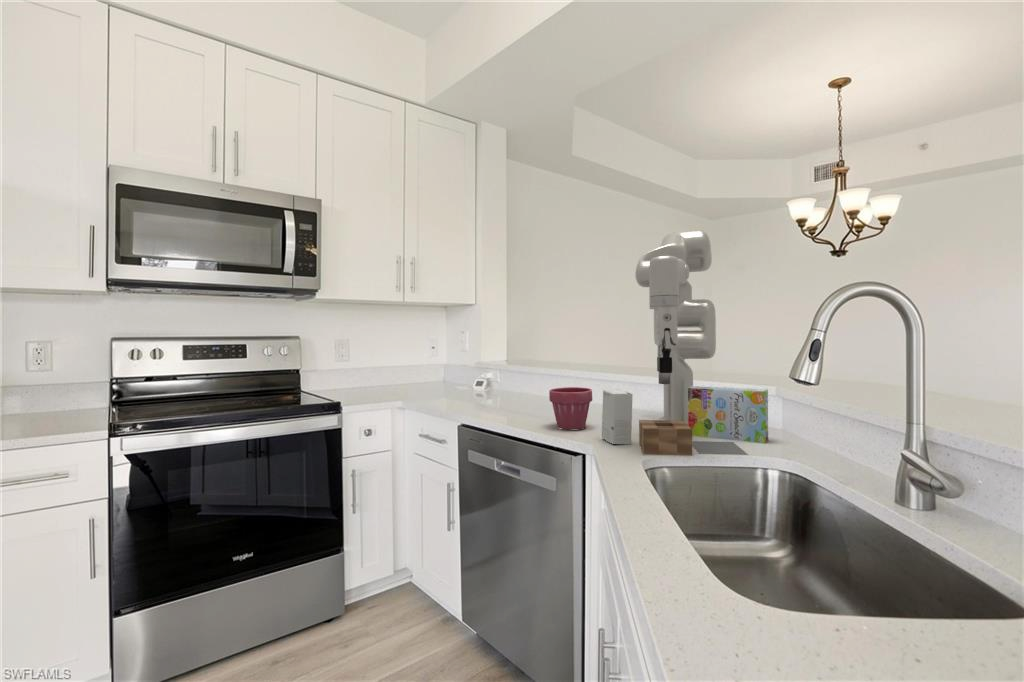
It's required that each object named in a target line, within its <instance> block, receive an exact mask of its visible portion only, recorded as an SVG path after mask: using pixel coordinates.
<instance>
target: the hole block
mask: <svg viewBox="0 0 1024 682" xmlns="http://www.w3.org/2000/svg"><path fill="white" fill-rule="evenodd" d="M638 432H639V433H638V437H639V438H638V440H639V441H638V444H639V448H640V447H641V448H640V450H641V453H642V455H643V454H644V455H650V456H651V455H654V456H659V455H660V456H662V455H663V456H691V457H692V456H693V446H692V441H693V436H692V429H691V428H690V427H689V426H688V425H687V424H686V423H685V422H684V421H678V420H659V419H658V420H657V419H639V420H638Z"/></svg>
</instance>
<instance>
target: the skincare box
mask: <svg viewBox="0 0 1024 682" xmlns="http://www.w3.org/2000/svg"><path fill="white" fill-rule="evenodd" d="M633 395H634V394H633V393H632V392H628V391H627V390H623V389H602V414H601V416H602V417H601V419H602V420H601V439H602V438H603V439H605V440H606V441H605V440H604V441H605V442H607V441H608V442H607V443H609V442H610V443H609V444H611V443H612V444H624V445H631V444H632V424H633V423H632V422H633ZM603 439H602V440H603ZM630 443H631V444H630ZM612 444H611V445H612Z"/></svg>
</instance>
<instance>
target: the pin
mask: <svg viewBox="0 0 1024 682" xmlns="http://www.w3.org/2000/svg"><path fill="white" fill-rule="evenodd" d="M657 357H658V366H659V358H660V346H658V345H657ZM664 384H670V373H660V372H658V385H664Z"/></svg>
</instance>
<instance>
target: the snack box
mask: <svg viewBox="0 0 1024 682" xmlns="http://www.w3.org/2000/svg"><path fill="white" fill-rule="evenodd" d="M688 426H689V427H690V428H691V429H692V437H693V436H695V437H700V438H701V437H702V438H711V439H721V440H731V441H738V442H739V441H740V442H747V443H758V444H767V442H768V441H769V390H768V389H765V388H743V387H727V386H723V387H721V386H720V387H719V386H697V385H693V386H692V387H689V388H688Z"/></svg>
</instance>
